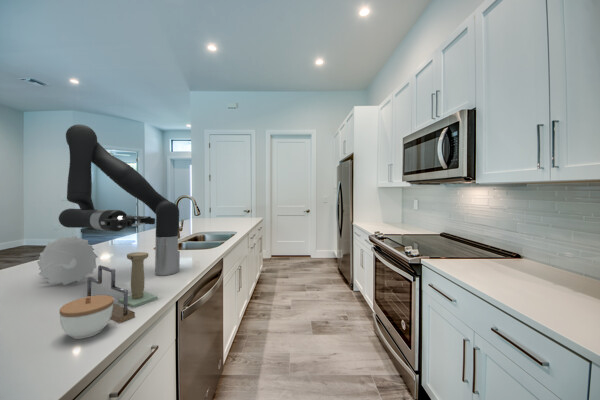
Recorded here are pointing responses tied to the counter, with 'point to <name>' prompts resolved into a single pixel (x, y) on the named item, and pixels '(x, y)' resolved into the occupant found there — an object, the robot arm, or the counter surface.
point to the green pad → (139, 300)
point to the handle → (137, 273)
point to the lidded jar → (86, 316)
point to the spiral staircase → (67, 260)
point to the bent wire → (118, 312)
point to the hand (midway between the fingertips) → (143, 222)
